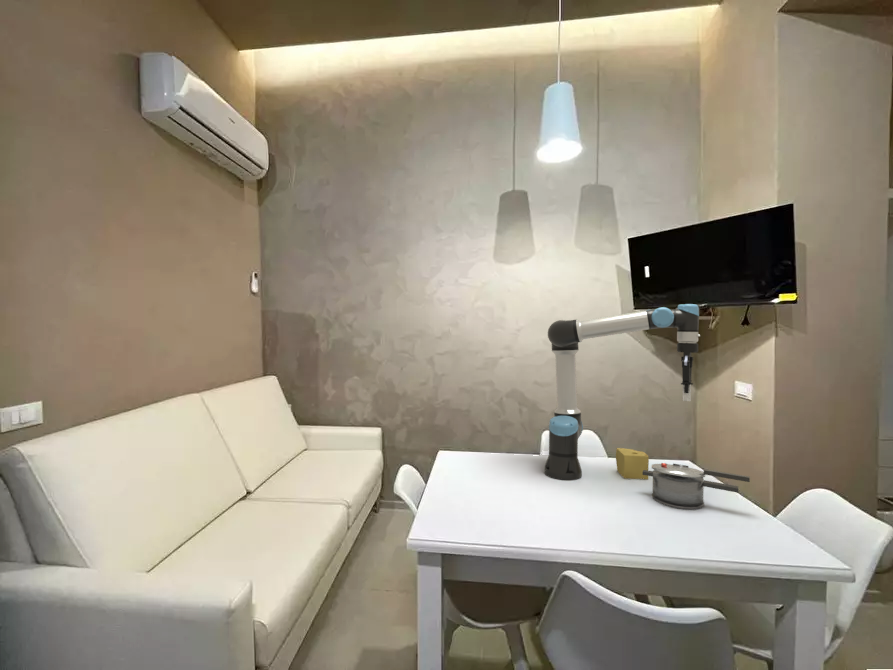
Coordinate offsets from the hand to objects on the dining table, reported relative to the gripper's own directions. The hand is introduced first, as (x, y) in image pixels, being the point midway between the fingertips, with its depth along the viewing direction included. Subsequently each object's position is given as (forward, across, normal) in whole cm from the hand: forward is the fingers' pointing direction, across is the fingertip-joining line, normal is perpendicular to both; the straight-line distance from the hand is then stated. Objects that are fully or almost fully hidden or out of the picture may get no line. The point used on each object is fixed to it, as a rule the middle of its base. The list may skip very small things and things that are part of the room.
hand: (686, 400), depth 175 cm
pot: (+32, -24, -3) cm, 41 cm away
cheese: (+33, -6, +19) cm, 38 cm away
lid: (+22, -24, -6) cm, 34 cm away
